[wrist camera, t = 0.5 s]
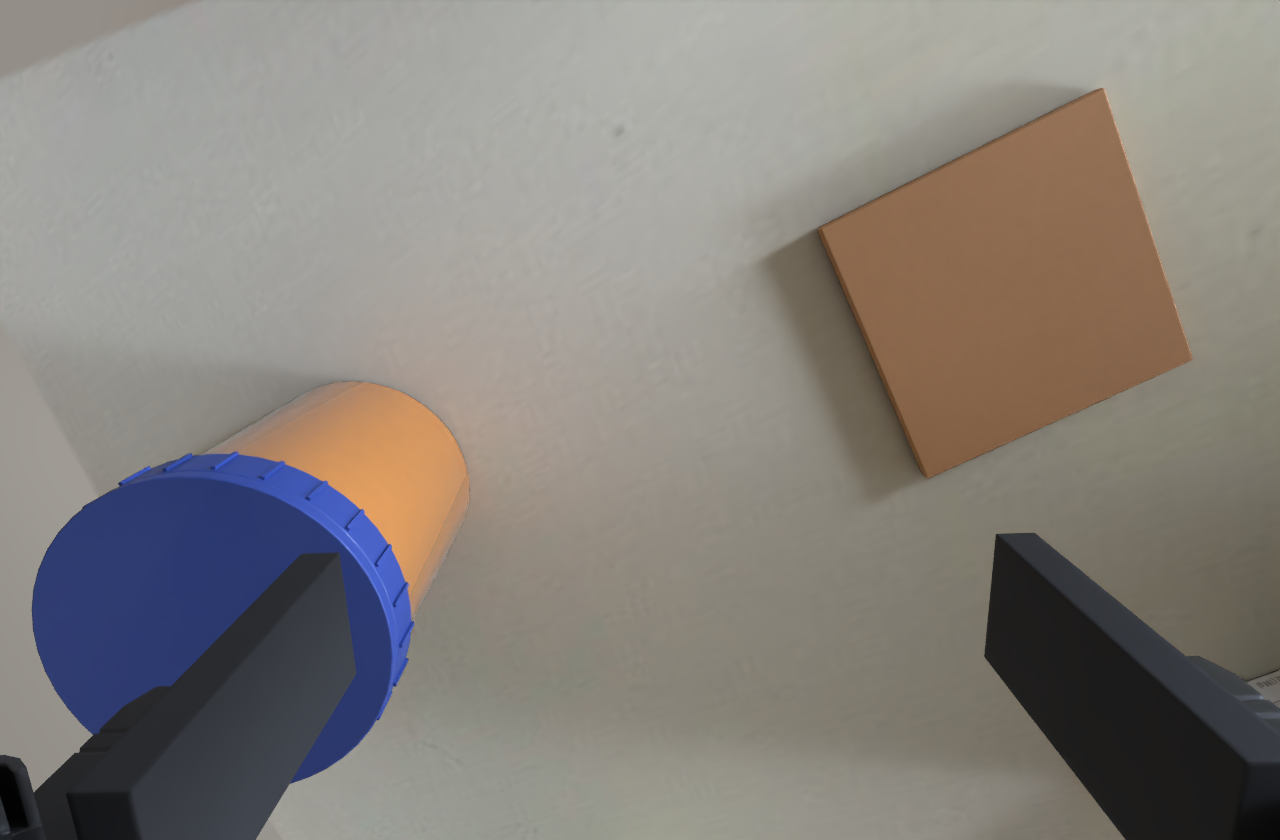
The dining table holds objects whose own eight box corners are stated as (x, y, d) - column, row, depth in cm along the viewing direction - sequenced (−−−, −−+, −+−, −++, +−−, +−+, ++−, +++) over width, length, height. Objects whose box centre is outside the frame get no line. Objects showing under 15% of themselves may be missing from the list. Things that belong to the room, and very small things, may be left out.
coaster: (816, 228, 27) (819, 228, 26) (1094, 89, 26) (1104, 86, 25) (921, 474, 29) (927, 479, 29) (1183, 357, 28) (1194, 360, 27)
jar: (214, 438, 29) (-8, 568, 19) (399, 343, 28) (267, 426, 18) (332, 610, 31) (187, 809, 21) (508, 527, 30) (444, 693, 20)
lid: (5, 562, 20) (-51, 595, 19) (268, 385, 19) (233, 403, 17) (229, 797, 22) (197, 845, 21) (479, 652, 21) (466, 691, 19)
